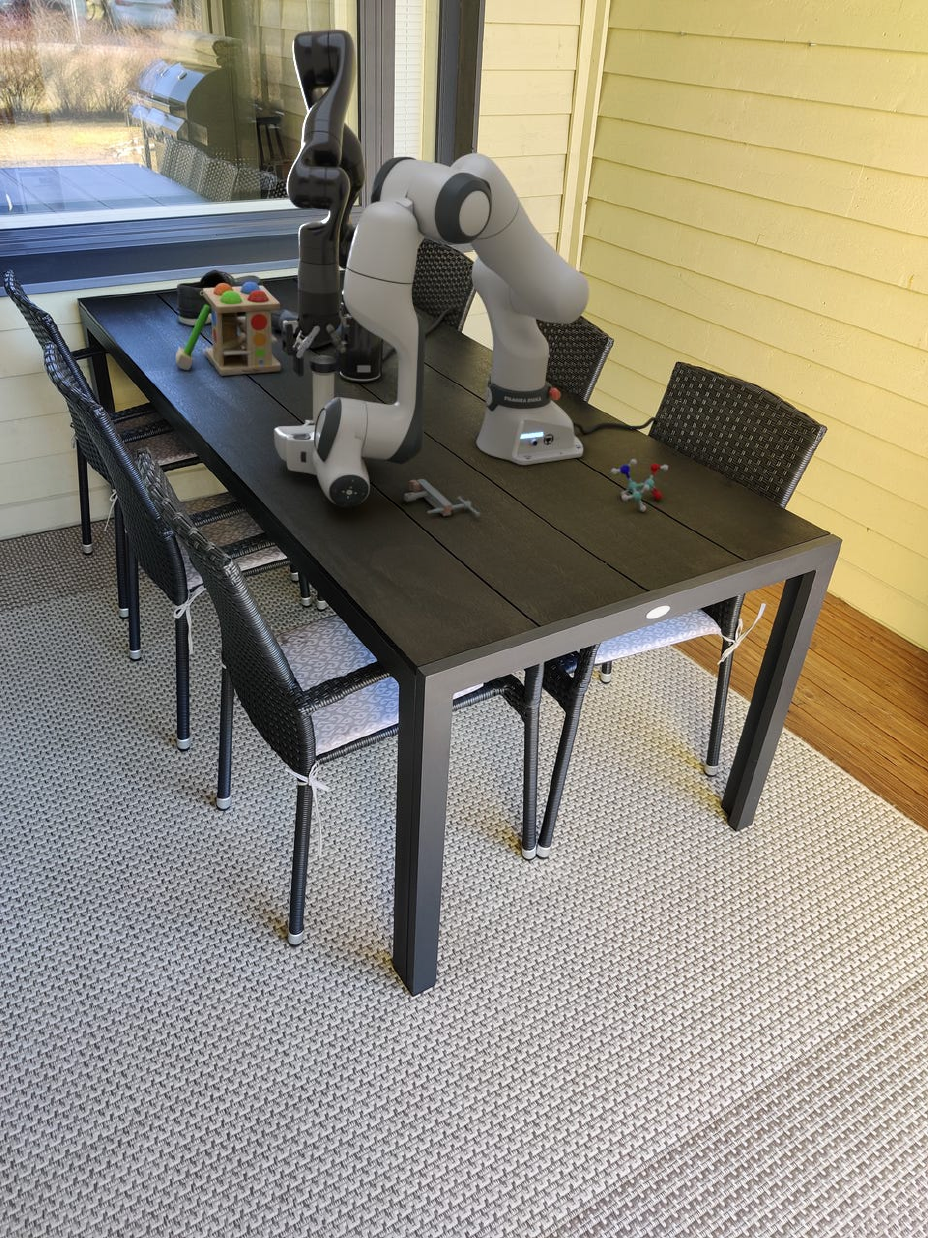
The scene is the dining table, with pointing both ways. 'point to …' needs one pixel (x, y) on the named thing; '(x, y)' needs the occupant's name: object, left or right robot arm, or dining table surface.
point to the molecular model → (633, 485)
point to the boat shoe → (193, 297)
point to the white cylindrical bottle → (322, 391)
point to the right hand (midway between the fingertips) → (322, 422)
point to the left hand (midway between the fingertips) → (318, 372)
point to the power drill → (282, 314)
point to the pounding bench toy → (229, 347)
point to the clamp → (434, 498)
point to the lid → (323, 364)
